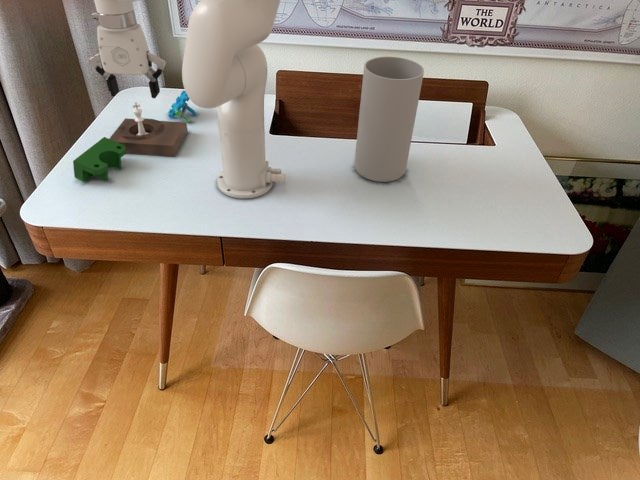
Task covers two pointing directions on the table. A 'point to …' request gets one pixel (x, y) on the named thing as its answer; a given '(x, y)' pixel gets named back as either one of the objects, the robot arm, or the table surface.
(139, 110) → the chess piece
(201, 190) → the table surface
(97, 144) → the clamp
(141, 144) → the pad
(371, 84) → the cylinder vase
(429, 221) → the table surface
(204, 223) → the table surface
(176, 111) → the blue slotted cogwheel
